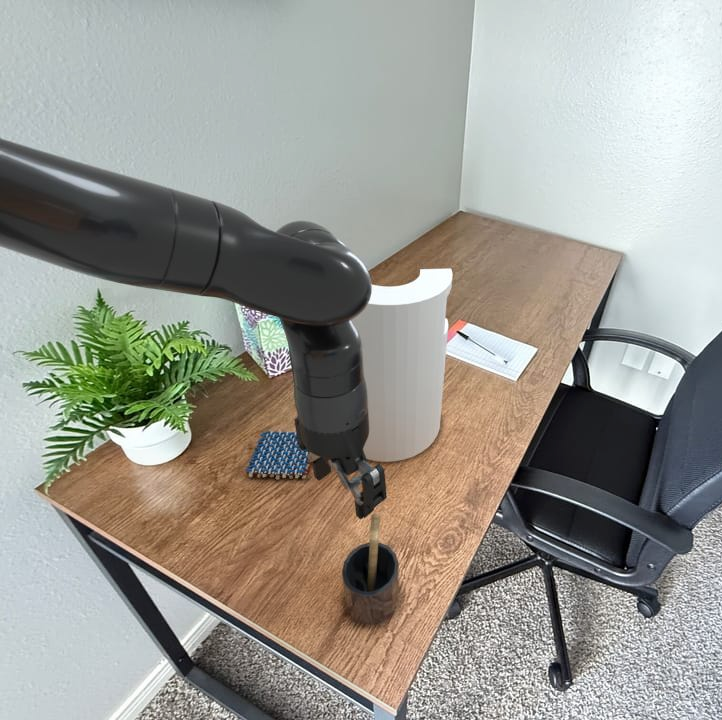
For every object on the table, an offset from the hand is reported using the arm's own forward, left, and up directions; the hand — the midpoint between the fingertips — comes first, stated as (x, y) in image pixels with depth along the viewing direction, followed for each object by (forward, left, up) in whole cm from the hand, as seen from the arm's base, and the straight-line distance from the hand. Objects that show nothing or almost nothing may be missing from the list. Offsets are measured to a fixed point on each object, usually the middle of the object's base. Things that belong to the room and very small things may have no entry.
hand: (343, 494), depth 61 cm
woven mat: (+20, +16, -18) cm, 31 cm away
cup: (-5, -4, -18) cm, 19 cm away
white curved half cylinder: (+26, -3, -18) cm, 31 cm away
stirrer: (-4, -4, -11) cm, 12 cm away
